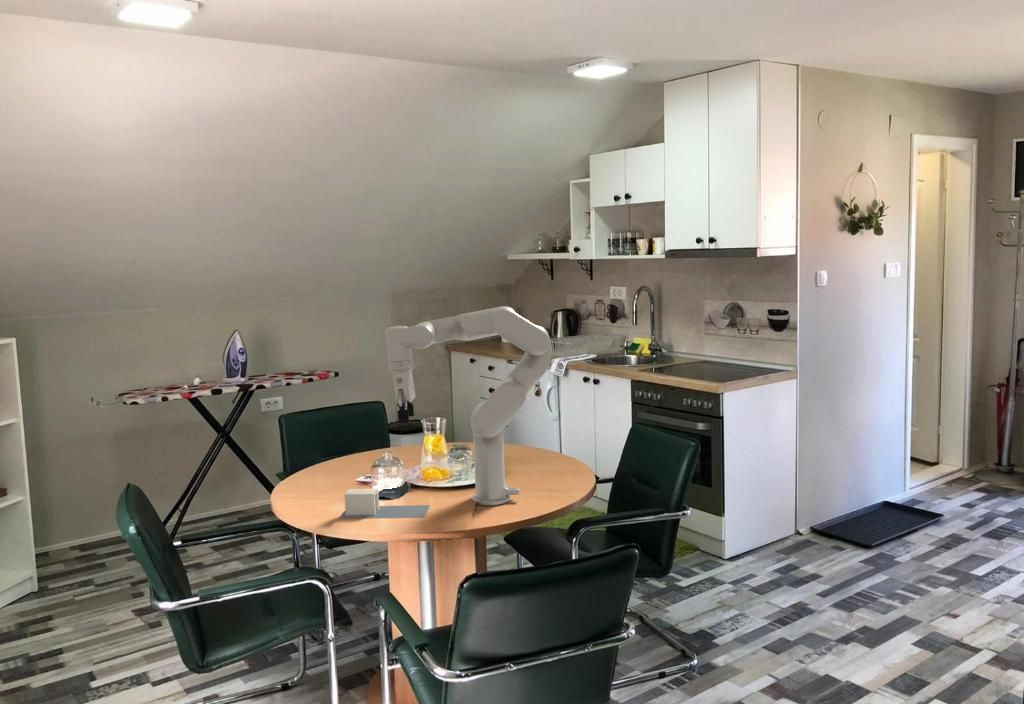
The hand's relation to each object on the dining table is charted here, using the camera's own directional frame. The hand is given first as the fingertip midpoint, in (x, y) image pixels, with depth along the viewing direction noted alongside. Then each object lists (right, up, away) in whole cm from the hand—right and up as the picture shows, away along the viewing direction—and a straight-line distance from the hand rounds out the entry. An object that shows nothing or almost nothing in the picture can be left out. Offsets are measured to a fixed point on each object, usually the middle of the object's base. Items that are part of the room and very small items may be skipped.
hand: (406, 419), depth 264 cm
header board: (-5, -29, -8) cm, 30 cm away
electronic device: (-6, -27, +12) cm, 30 cm away
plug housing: (-12, -28, -8) cm, 31 cm away
